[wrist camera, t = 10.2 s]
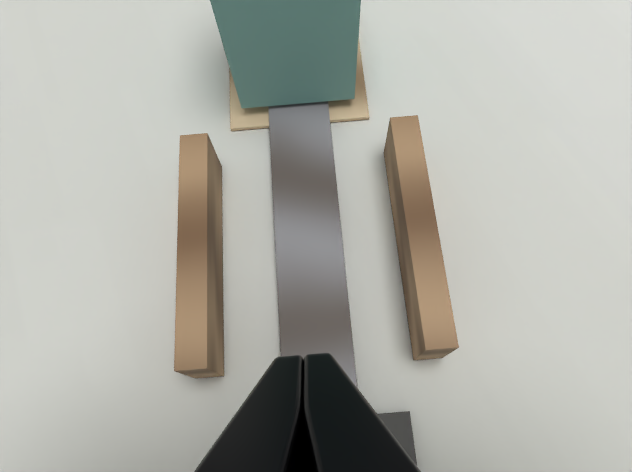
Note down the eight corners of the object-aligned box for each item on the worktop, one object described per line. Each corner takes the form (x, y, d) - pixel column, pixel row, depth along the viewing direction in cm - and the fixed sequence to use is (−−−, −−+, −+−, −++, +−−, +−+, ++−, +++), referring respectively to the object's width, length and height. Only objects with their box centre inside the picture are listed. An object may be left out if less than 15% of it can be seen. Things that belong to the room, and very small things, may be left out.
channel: (484, 615, 18) (512, 651, 15) (193, 639, 18) (166, 679, 15) (385, 10, 28) (390, -37, 25) (198, 26, 28) (183, -19, 25)
